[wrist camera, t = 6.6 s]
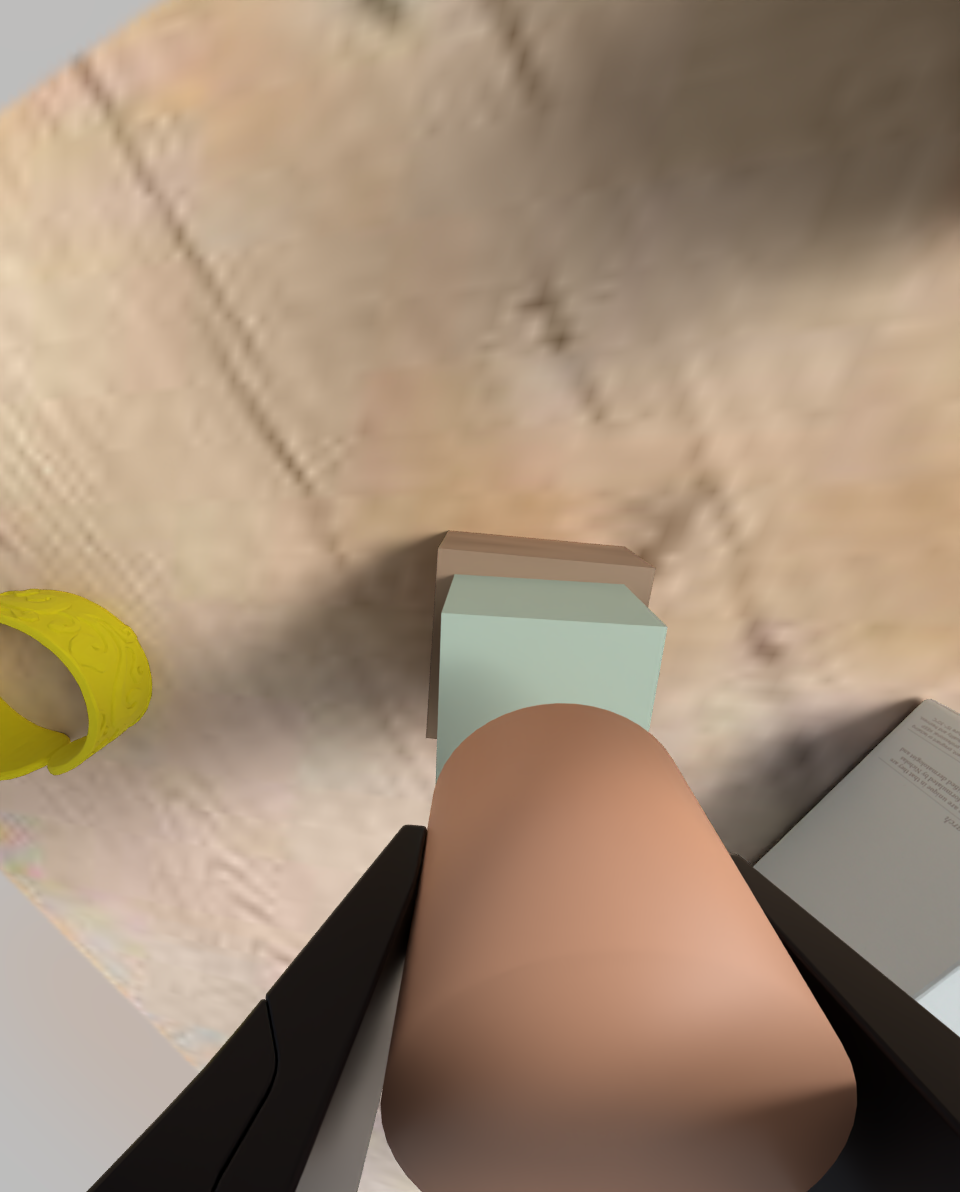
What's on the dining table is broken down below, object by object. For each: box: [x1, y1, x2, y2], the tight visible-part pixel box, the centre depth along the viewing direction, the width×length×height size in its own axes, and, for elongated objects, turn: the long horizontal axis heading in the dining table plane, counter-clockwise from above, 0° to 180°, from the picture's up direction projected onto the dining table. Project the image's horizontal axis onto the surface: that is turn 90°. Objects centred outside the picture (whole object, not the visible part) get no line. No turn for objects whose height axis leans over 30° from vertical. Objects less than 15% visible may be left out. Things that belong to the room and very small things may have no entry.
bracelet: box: [0, 589, 152, 781], centre depth 19 cm, size 7×8×3 cm
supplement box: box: [753, 699, 960, 1037], centre depth 19 cm, size 7×7×13 cm
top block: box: [436, 574, 667, 783], centre depth 14 cm, size 6×6×4 cm
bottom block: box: [426, 531, 656, 739], centre depth 18 cm, size 7×7×4 cm
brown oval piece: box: [381, 703, 857, 1192], centre depth 7 cm, size 5×5×4 cm
